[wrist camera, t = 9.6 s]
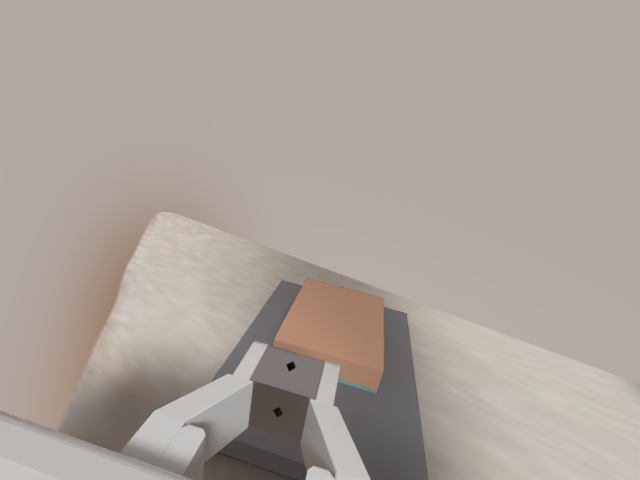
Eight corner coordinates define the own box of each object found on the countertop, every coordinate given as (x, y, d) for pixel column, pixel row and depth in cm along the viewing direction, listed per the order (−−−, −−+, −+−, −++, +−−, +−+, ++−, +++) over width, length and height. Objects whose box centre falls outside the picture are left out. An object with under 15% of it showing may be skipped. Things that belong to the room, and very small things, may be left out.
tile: (376, 393, 21) (378, 315, 31) (383, 371, 21) (383, 298, 30) (270, 361, 22) (303, 295, 32) (274, 339, 22) (306, 277, 31)
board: (402, 324, 33) (406, 313, 32) (422, 523, 16) (431, 506, 15) (280, 291, 34) (282, 280, 34) (182, 440, 18) (182, 422, 17)
